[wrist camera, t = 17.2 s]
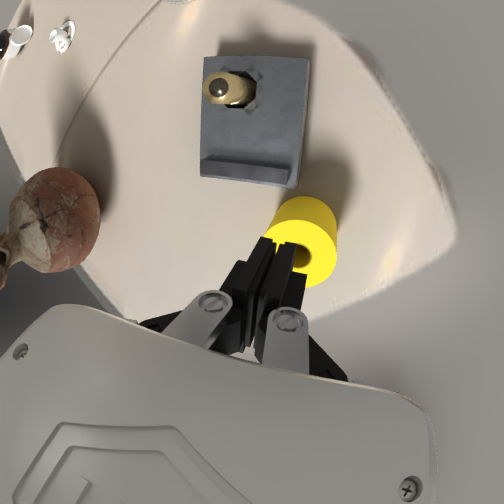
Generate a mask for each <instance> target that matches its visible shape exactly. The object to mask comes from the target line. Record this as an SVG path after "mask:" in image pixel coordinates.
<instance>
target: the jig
mask: <svg viewBox="0 0 504 504" xmlns="http://www.w3.org/2000/svg"><path fill="white" fill-rule="evenodd" d="M310 65H311V64H310V62H309V59H306V58H296V57H282V56H255V55H240V56H214V57H204V65H203V82H202V88H203V83H204V81H205V79H206V78H207V77H208V76H209V75H210V74H212V73H214V72H219V71H220V72H226V73H229V74H233V75H236V76H238V75H239V74H249V75H250V76H251V77H252V78H253V79H254V80H255V81H256V82H257V88H256V98H255V99H254V100H253V101H252V102H251V103H250V104H248V105H247V106H246V107H245V108H237V107H236V106H235V105H234V104H213V103H211V102H209V101H208V100H207V99H206V98H205V97H204V94H203V90H202V104H201V137H200V176H201V177H211V178H219V179H228V180H236V181H243V182H251V183H258V184H265V185H271V186H278V187H284V188H290V189H295V188H296V186H297V184H298V182H299V174H300V166H301V158H302V149H303V140H304V131H305V121H306V111H307V100H308V89H309V78H310Z"/></svg>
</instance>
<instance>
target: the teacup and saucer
mask: <svg viewBox="0 0 504 504" xmlns="http://www.w3.org/2000/svg"><path fill="white" fill-rule="evenodd" d="M66 26H71V28H72V34H71V37H70V39H69V38H66V37H67V32H66V31H63V29H64V28H65V27H66ZM55 29H58V30H55ZM74 33H75V24H74V22H73V21H68V22H66V23H65V24H64V25H63V26H62V27H61V28H58V27H56V28H54V30H53V31H52V33H51V35H50V38H49V41H50V42H56V43H55V45H56V49H57V50H58V51H60V52H61V53H63V52H65V51H66V50H67V49H68V47H69V45H70V43H71V41H72V39H73V36H74ZM59 41H62V43H61V44H60V45H59Z"/></svg>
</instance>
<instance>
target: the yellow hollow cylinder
mask: <svg viewBox="0 0 504 504" xmlns="http://www.w3.org/2000/svg"><path fill="white" fill-rule="evenodd" d="M264 237H266V238H271V239H273V242H276V243H277V247H276V252H277V250H278V247H279V245H280V243H281V244H284V243H285V241H287V242H292V243H297V248H296V254H295V260H294V266H293V271H294V272H299V273H304V274H308V275H307V280H306V286H305V288H306V287H311V286H315V285H317V284H319V283H321V282H323V281H324V280H325V279H326V278H327V277H328V276H329V275H330V274H331V273H332V271H333V269H334V267H335V264H336V252H337V224H336V219H335V216H334V214H333V212H332V210H331V209H330V208H329V207H328V206H327V205H326V204H325V203H324V202H322V201H321V200H319V199H316V198H313V197H309V196H299V197H294V198H292V199H289V200H288V201H286V202H285V203H283V204H282V205H281V207H280V208H279V209H278V211H277V213H276V215H275V216H274V218H273V220H272V222H271V224H270V226H269V228H268V229H267V231H266V233H265V235H264Z"/></svg>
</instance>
